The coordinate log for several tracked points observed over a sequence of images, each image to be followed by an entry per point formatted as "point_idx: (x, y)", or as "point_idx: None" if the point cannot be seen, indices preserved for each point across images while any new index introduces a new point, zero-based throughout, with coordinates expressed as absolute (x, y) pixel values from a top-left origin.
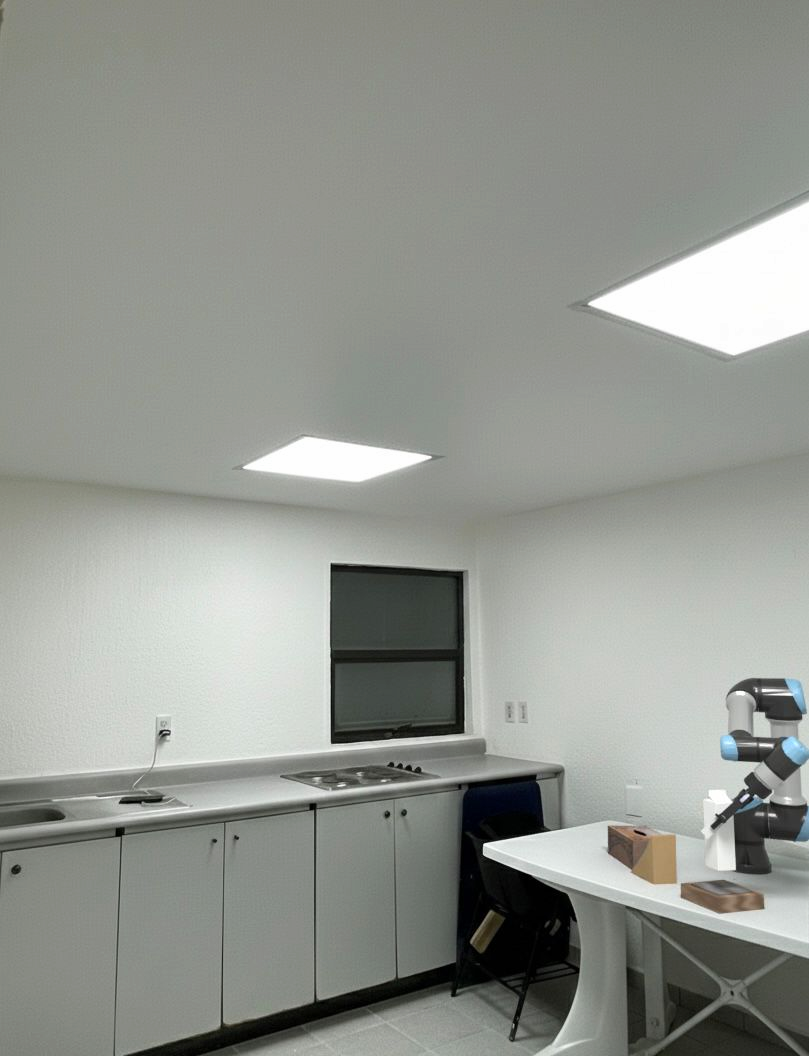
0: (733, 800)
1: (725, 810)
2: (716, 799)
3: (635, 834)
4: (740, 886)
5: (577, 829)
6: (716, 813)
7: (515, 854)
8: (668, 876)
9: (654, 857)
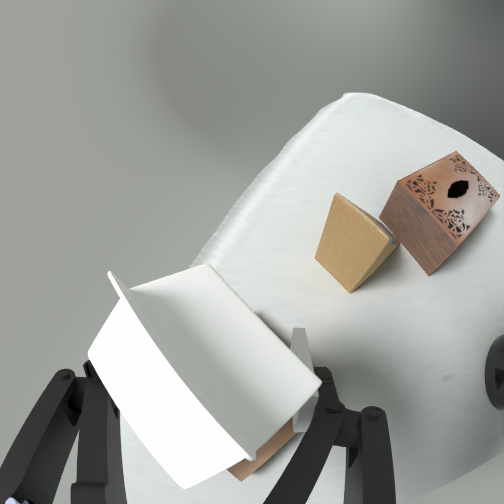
0: (84, 484)
1: (40, 405)
2: (119, 360)
3: (444, 183)
4: (287, 433)
5: (488, 152)
6: (84, 365)
7: (342, 106)
8: (340, 274)
9: (327, 230)
